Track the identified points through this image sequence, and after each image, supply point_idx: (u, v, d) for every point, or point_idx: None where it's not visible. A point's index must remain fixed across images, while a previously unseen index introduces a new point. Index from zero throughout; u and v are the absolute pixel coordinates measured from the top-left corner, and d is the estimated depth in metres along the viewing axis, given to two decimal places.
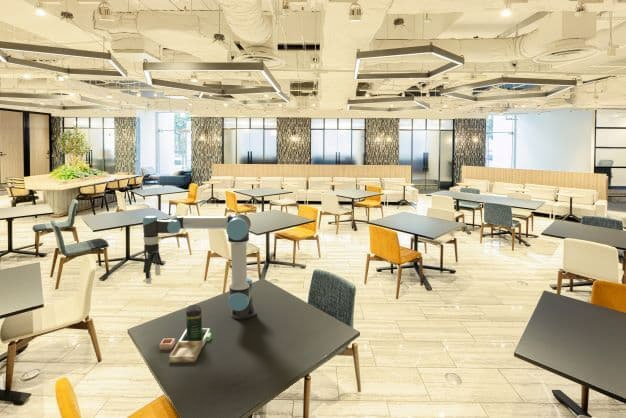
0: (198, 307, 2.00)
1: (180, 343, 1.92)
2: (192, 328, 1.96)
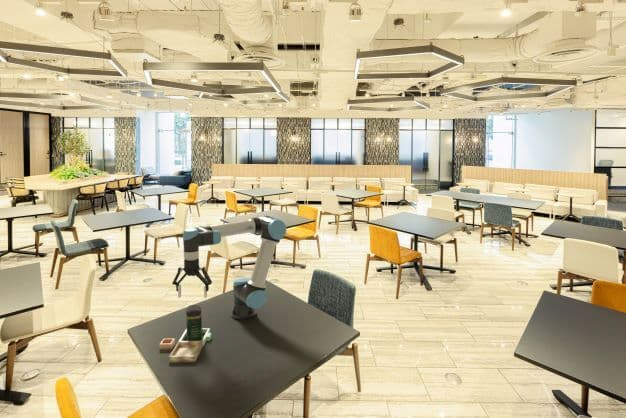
0: (198, 307, 2.00)
1: (180, 343, 1.92)
2: (192, 328, 1.96)
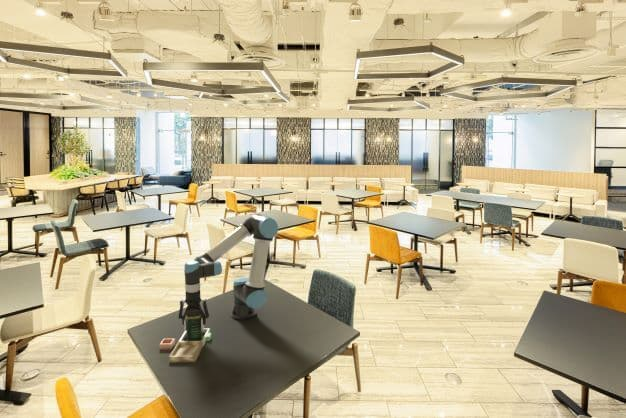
0: None
1: (180, 343, 1.92)
2: (192, 328, 1.96)
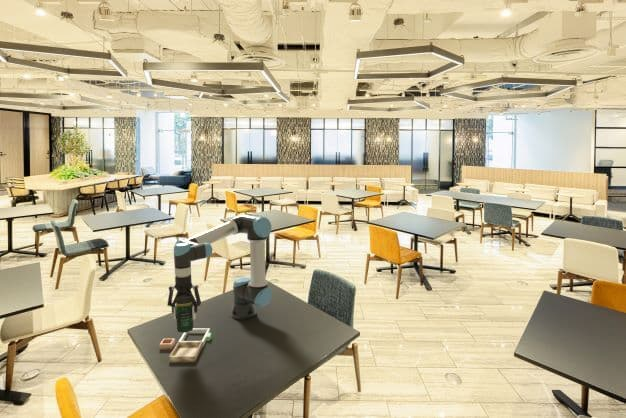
0: None
1: (180, 343, 1.92)
2: (183, 316, 1.79)
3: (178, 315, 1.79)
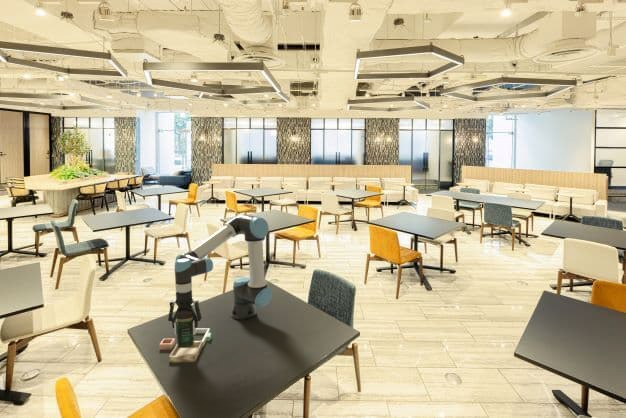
0: None
1: None
2: (183, 332, 1.80)
3: (179, 330, 1.80)
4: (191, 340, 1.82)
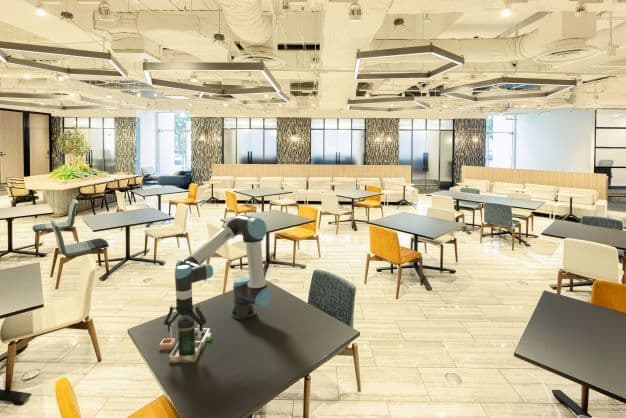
0: (191, 318, 1.85)
1: None
2: (184, 341, 1.81)
3: (180, 339, 1.81)
4: (192, 349, 1.83)
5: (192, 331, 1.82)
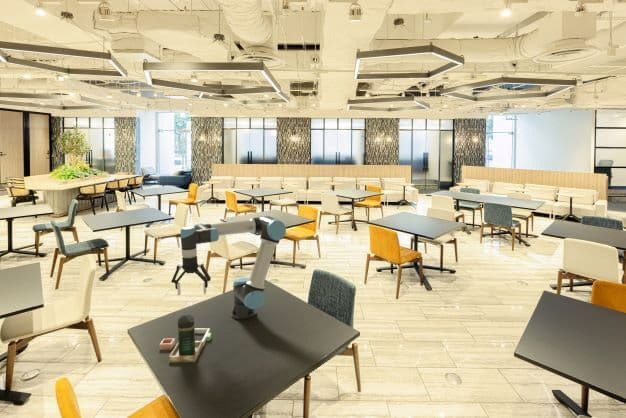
0: (191, 318, 1.85)
1: None
2: (184, 341, 1.81)
3: (180, 339, 1.81)
4: (192, 349, 1.83)
5: (192, 331, 1.82)
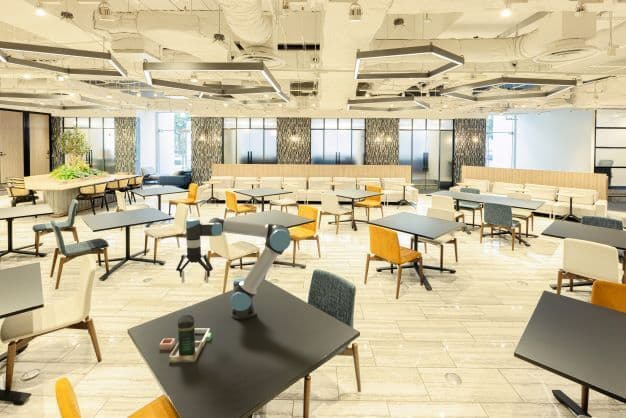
0: (191, 318, 1.85)
1: None
2: (184, 341, 1.81)
3: (180, 339, 1.81)
4: (192, 349, 1.83)
5: (192, 331, 1.82)
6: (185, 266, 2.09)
